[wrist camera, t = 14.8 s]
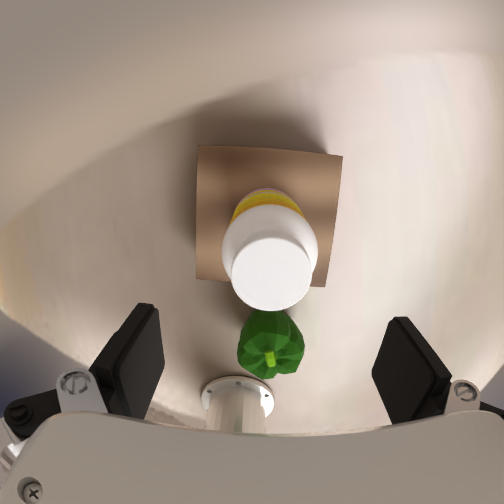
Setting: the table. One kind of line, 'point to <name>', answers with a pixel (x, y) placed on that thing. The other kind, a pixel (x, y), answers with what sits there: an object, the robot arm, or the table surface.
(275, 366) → the bell pepper
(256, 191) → the supplement bottle
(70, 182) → the table surface
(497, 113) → the table surface
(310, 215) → the walnut block
